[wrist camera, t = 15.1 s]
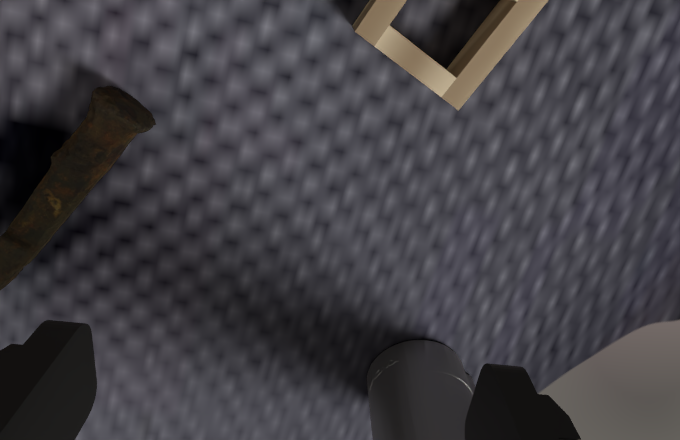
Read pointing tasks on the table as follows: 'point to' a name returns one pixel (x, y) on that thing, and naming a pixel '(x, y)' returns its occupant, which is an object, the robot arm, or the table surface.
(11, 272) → the hand tool
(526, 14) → the holder
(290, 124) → the table surface
